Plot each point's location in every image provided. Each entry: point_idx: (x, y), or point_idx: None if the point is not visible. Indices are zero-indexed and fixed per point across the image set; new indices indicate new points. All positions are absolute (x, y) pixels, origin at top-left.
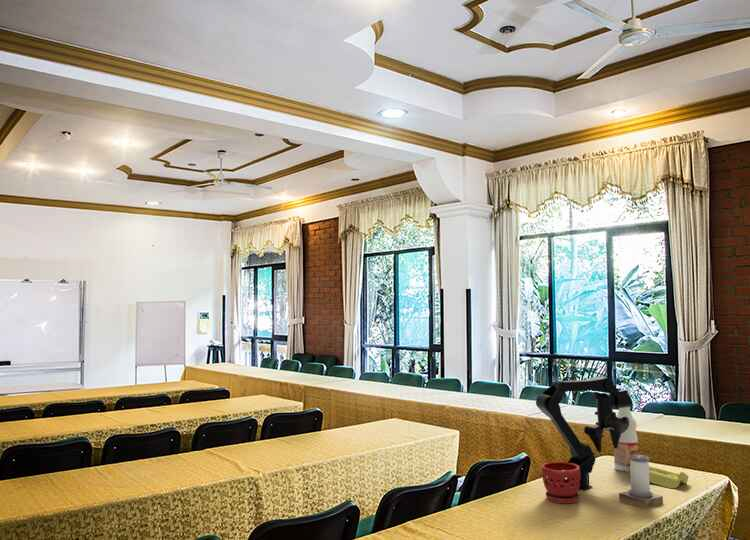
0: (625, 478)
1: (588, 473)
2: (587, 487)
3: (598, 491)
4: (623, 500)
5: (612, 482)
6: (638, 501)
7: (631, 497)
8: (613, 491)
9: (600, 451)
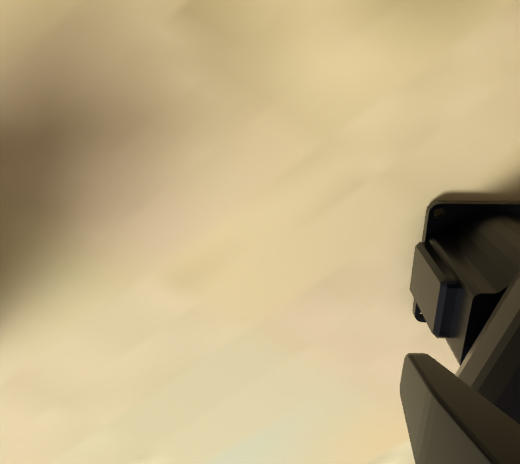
0: (4, 228)
1: (468, 277)
2: (497, 204)
3: (480, 113)
4: None
5: (172, 213)
6: None
7: None
8: (377, 44)
9: (427, 358)
